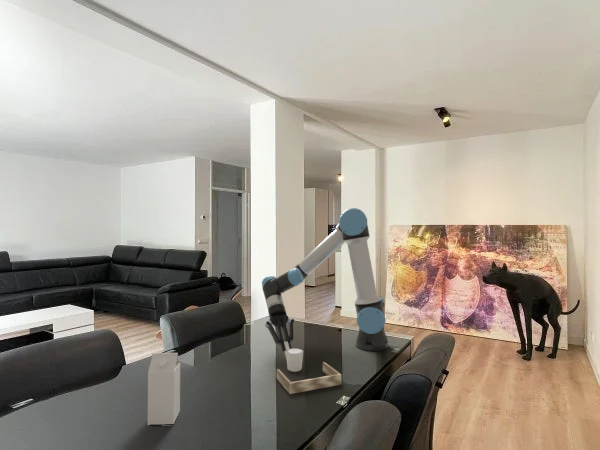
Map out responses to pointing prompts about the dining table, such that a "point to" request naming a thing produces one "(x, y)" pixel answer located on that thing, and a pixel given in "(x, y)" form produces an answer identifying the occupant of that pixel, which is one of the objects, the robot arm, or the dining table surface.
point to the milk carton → (163, 388)
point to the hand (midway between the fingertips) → (289, 358)
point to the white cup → (294, 359)
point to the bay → (311, 381)
